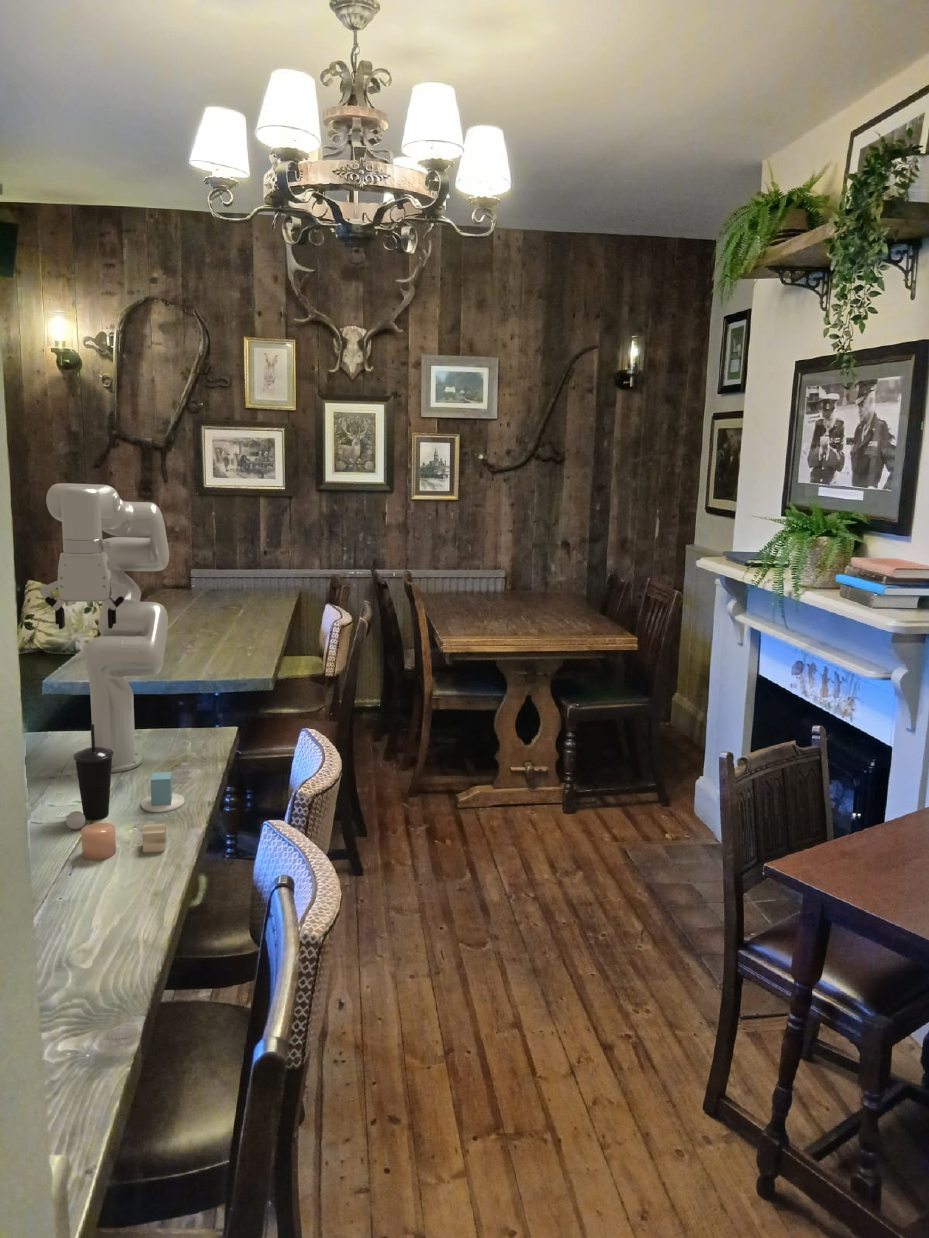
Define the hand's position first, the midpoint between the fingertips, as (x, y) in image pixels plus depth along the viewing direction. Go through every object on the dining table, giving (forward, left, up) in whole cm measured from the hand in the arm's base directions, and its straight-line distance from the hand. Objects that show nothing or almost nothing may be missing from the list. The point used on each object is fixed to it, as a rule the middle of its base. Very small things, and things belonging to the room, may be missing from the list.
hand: (86, 627), depth 186 cm
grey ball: (+16, -1, -38) cm, 41 cm away
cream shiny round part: (+6, +15, -38) cm, 41 cm away
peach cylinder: (+28, +5, -38) cm, 48 cm away
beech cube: (+27, +15, -38) cm, 49 cm away
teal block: (+6, +15, -38) cm, 41 cm away
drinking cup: (+10, +2, -38) cm, 40 cm away
